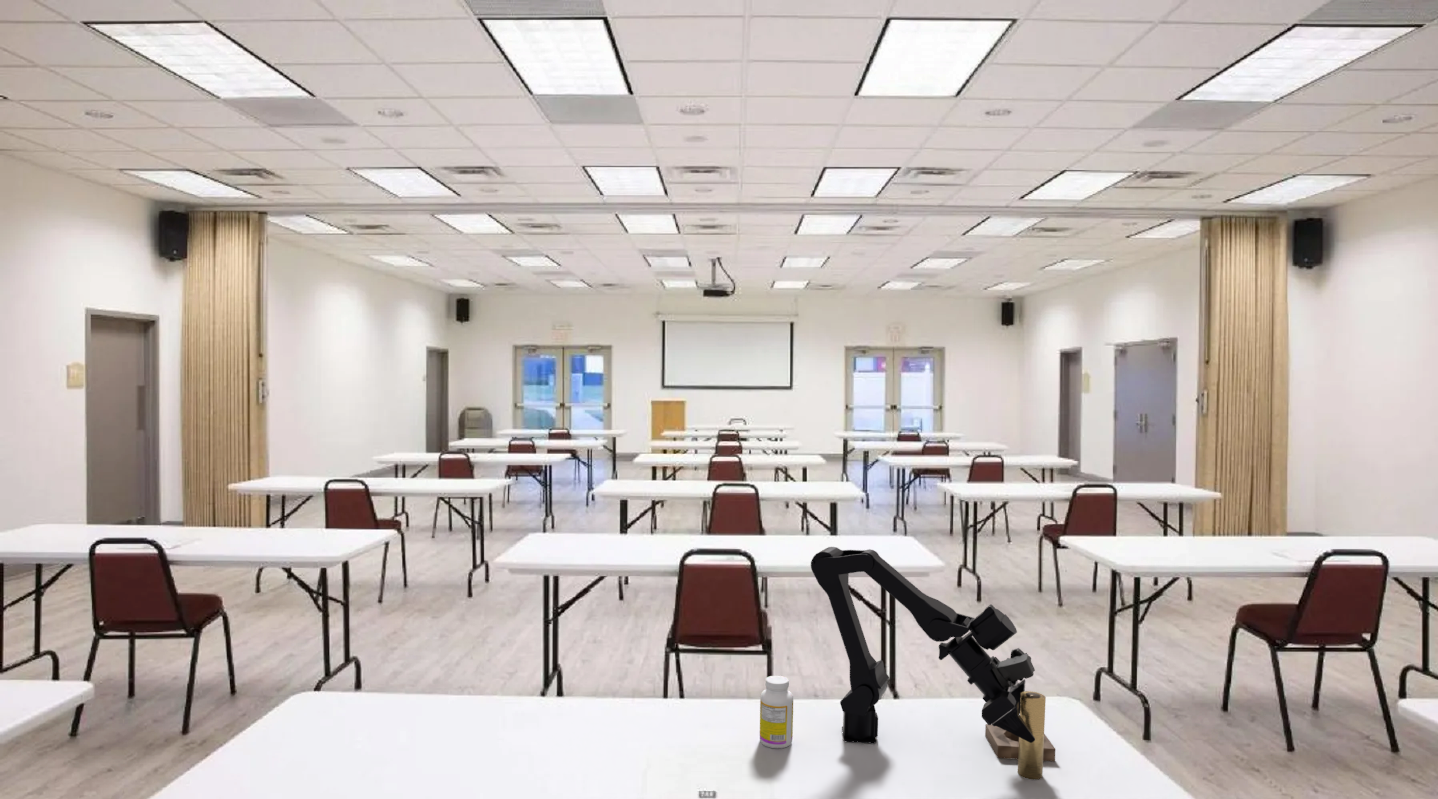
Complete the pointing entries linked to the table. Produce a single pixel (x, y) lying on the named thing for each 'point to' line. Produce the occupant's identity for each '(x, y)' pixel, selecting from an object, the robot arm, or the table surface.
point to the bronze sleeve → (1035, 721)
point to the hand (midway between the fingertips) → (1035, 731)
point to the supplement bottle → (776, 713)
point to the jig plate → (1012, 744)
